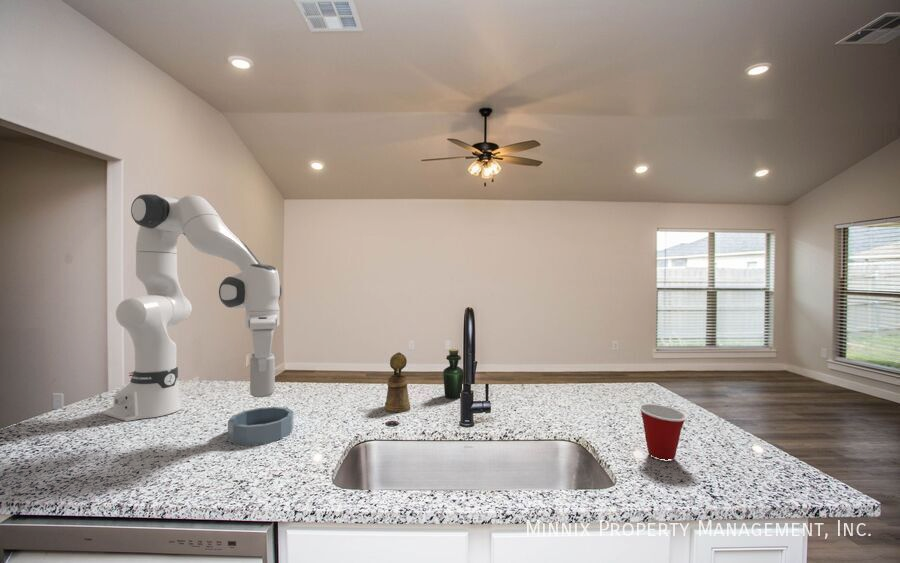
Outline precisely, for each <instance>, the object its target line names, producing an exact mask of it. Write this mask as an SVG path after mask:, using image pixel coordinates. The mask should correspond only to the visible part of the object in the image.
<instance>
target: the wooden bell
mask: <svg viewBox="0 0 900 563" xmlns="http://www.w3.org/2000/svg"><path fill="white" fill-rule="evenodd" d="M407 362H408V361H407V357H406V356H405V355H404V354H402V353H401V352H397V353H395V354H393V355H392V356H391V357H390V361H389V366H390V368H391V369H393V375H389V376H388V379H387V384H386V385H387V390H386V391H387V394H386V399H385V402H384V410H385V411H387V412H390V413H403V412H408V411H410V410H411V402H410V399H409V393H408V392H409V390H408V379H407V375H403V374H402V370H403V369H404V368H406V366H407Z"/></svg>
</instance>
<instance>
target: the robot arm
mask: <svg viewBox="0 0 900 563" xmlns="http://www.w3.org/2000/svg"><path fill="white" fill-rule="evenodd" d="M130 212H131V213H130V214H131V218H132V220H134V222H135V223H136V225H138V226H139V228H138V231H137V236H136V244H135V275H136V278H137V279H138V280H139V281H140V282H142V284H143V285H144V288H145V290H146V293H147V294H141V295H140V294H139V295H136V296H132V297H130V298H126V299H124V300H121V302H119V304H118V306H117V307H116V309H115V319H116V320H117V322H118V324H119V325H120V326H121V327H123V328H124V329H126V331H127V332H128V334H129V336H130V338H131V340H132V342H133V347H134V370H133V372H132V371H131V372H128V374H129V375H128V377H131V378H130V381H129V383H128V384H126V386H124V387H123V388H121V389H119V391H118V392H117V393H116V394H114V397H113V402H112V403H113V404H112V405H113V406H112V407H109V408H107V409H105V410H104V411H103V415H104V416H108V417H112V418H115V419H117V420H118V419H119V420H122V421H125V422H129V421H135V420H140V419H149V418H157V417H162V416H163V417H164V416H166V415H170V414H173V413H176V412H178V411H179V410H181V409H182V407H183V403H184V401H183V400H182V399H181V390H180V382H179V381H178V377H179V368H178V366H177V364H178V363H177V362H178V361H177V358H178V356H177V355H178V354H177V353H178V352H177V351H178V348H177V347H178V346H177V344H176V341H174V340H172V339H171V338H170V335H169V333H168V330H167V327H169V326H175V325H178V324H180V323H182V322H184V321H186V320H187V319H188V318H190V316H191V314H192V312H193V306H192V304H191V301H190V300H189V299H188V298H187V297H186V296H185V294H184V292H183V290H182V287H181V283H180V281H179V274H178V245H177V244H178V243H177V241H178V238H180V236H181V235H182V234H183V235H184V236H185V237H186V239H187V241H188V242H189V244H190V245H191V246H193V248H194V249H196V250H197V251H199V252H201V253H203V254H206V255H211V256H214V257H217V258H221V259H224V260H226V261H228V262H231V263H232V264H234V265H235V266H237V267H238V269H239V270H240V271H241V272H240V273H237V274H234V275H231V276H227V277H225V278H224V279H223V280H222V281H221V283H220V284H219V287H218V297H219V300H220V301H221V303H222V304H223V305H224V306H225V307H227V308H230V309H245V327H246V328H248V329H249V330H250V334H251V337H252V347H253V354H254V355H255V358H258V362H259V371H260V372H263V371H266V361H267V358H268V357H269V356H270V352H272V345H273V336H274V333H275V331H276V328H277V327H279V326H280V324H281V323H280V322H281V321H280V318H281V316H280V313H281V311H280V310H281V308H280V305H279V301H280V300H281V298H282V292H283V291H282V286H281V283H280V276H279V271H278V269H277V268H276V267H275V266H273V265H269V264H263V263H261V262H260V261H259V260H258V258H257V257H256V255H255V254H254V252H252V250H251V249H250V248H249V247H248V246H247V244H245V243H244V242H243V241H242V240H241V239H240V238H238V237H237V236H236V235H235V234H234V233H233V232H232V231H231V230H230V229H229V228H228V227H227V225H226V224H225V223H224V221H223V219H222V218H221V217H220V215H219V214H218V212H217V211H216V210H215V208H214V207H213V206H212V205H211V203H210V202H208V201H207V199H206V198H204V197H202V196H201V195H196V194H189V195H185V196H183V197H181V198H180V197H172V196H171V197H170V196H163V195H156V194H151V193H150V194H149V193H148V194H147V193H146V194H145V193H144V194H140V195H138V196H137V197H136V198H134V200H133V202H132V203H131V207H130Z"/></svg>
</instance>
